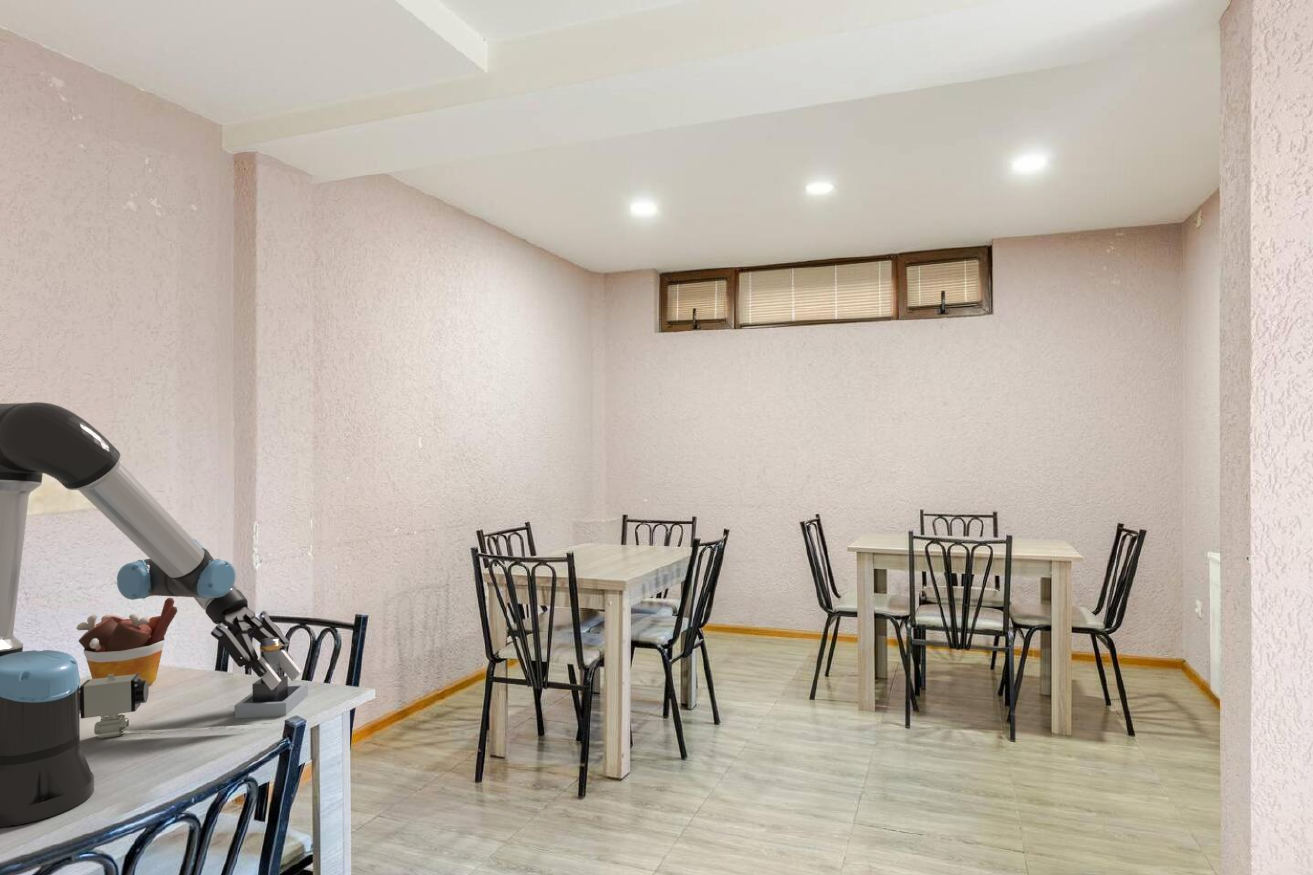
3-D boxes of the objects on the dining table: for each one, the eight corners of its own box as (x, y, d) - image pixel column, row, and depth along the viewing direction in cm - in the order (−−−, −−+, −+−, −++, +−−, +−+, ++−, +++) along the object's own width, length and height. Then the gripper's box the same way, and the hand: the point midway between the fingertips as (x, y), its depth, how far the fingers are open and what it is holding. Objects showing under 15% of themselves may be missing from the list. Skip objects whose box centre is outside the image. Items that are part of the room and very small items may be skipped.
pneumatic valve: (144, 734, 150) (142, 673, 150) (71, 744, 146) (70, 681, 146) (150, 724, 156) (149, 665, 156) (81, 734, 151) (79, 673, 151)
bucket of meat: (71, 704, 169) (70, 614, 169) (81, 684, 183) (80, 601, 183) (178, 687, 179) (176, 603, 179) (179, 670, 194) (178, 591, 194)
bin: (286, 722, 155) (285, 702, 155) (235, 725, 154) (234, 705, 154) (308, 702, 167) (307, 684, 167) (260, 704, 166) (260, 686, 166)
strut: (277, 705, 158) (276, 642, 158) (252, 705, 158) (251, 642, 158) (287, 697, 163) (287, 636, 163) (264, 697, 163) (263, 636, 163)
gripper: (244, 602, 173) (306, 679, 169) (174, 621, 156) (242, 707, 152) (263, 579, 172) (326, 656, 168) (195, 596, 154) (264, 682, 150)
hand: (286, 680), depth 160 cm, fingers closed on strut, 5 cm apart
